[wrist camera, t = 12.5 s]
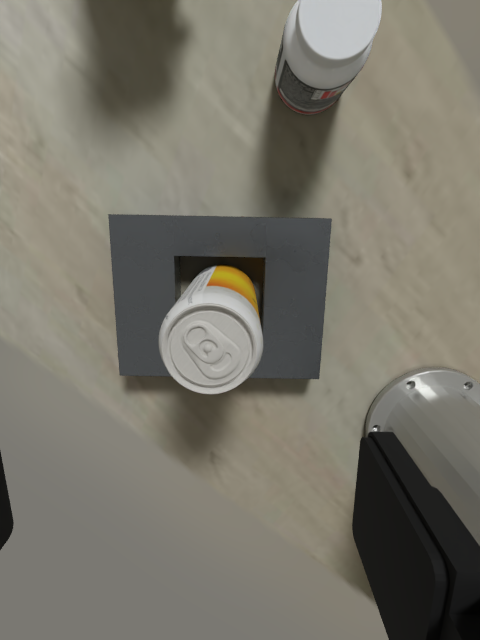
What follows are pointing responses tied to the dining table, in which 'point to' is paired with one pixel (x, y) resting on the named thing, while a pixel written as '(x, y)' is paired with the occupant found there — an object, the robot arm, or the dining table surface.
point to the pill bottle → (324, 50)
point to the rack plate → (221, 241)
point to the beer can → (213, 332)
